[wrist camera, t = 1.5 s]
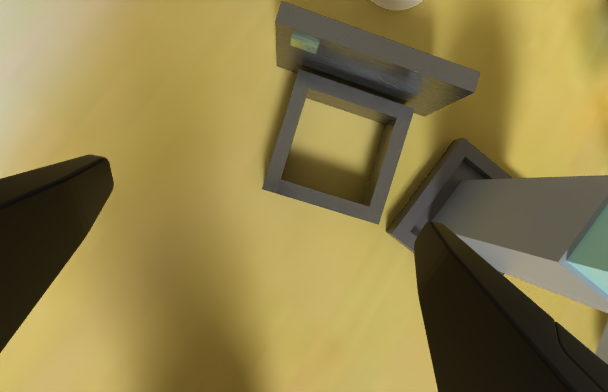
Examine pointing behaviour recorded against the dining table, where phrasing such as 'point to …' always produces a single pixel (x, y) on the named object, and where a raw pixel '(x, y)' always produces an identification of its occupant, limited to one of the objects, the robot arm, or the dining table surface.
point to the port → (357, 95)
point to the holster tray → (442, 188)
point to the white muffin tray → (397, 4)
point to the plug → (538, 231)
